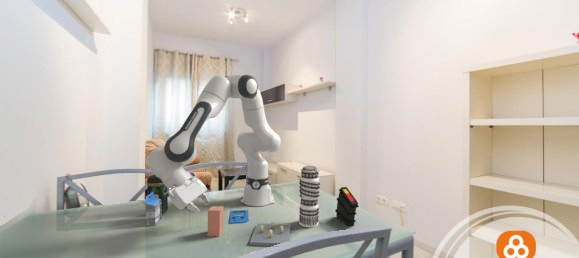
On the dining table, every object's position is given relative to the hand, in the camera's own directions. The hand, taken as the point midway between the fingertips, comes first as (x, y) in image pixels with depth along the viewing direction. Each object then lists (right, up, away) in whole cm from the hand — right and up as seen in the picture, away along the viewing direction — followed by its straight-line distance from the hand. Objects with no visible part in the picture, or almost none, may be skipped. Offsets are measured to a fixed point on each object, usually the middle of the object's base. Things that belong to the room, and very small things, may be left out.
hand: (203, 207), depth 95 cm
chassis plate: (+27, -11, -1) cm, 29 cm away
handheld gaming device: (+10, -10, +18) cm, 23 cm away
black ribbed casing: (+59, -11, +14) cm, 62 cm away
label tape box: (-25, -10, +10) cm, 29 cm away
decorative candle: (+42, -11, +12) cm, 45 cm away
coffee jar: (-30, -9, +21) cm, 38 cm away
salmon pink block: (+5, -10, 0) cm, 11 cm away
